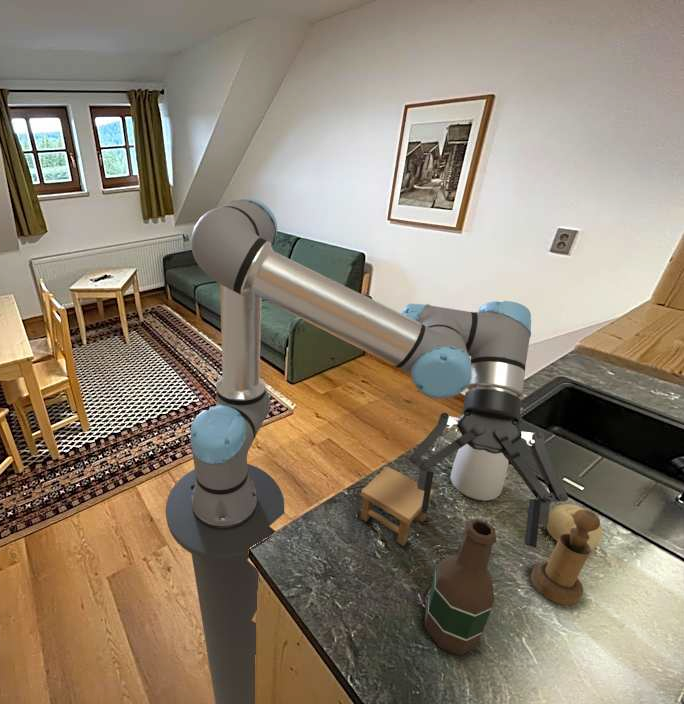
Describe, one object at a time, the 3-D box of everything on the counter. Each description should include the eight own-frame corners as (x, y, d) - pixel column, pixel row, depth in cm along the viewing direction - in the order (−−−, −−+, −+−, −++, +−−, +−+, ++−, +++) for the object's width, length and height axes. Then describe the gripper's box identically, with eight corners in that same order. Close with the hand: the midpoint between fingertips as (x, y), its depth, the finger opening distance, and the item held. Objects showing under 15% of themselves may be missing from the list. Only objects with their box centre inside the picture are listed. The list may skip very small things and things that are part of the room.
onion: (609, 560, 72) (603, 539, 69) (553, 554, 77) (544, 534, 74) (600, 519, 77) (593, 498, 74) (547, 515, 82) (538, 496, 79)
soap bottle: (491, 510, 84) (520, 423, 74) (442, 486, 91) (462, 403, 80) (506, 485, 89) (535, 400, 79) (458, 464, 96) (479, 383, 86)
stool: (358, 518, 85) (361, 490, 81) (382, 492, 90) (386, 465, 87) (404, 548, 78) (409, 519, 74) (427, 518, 83) (434, 490, 80)
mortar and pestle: (572, 577, 70) (610, 504, 62) (584, 612, 65) (627, 537, 57) (526, 564, 73) (556, 492, 65) (534, 597, 68) (568, 523, 60)
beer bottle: (413, 628, 65) (439, 527, 54) (435, 596, 69) (463, 496, 59) (465, 669, 60) (505, 565, 49) (485, 631, 64) (526, 528, 53)
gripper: (584, 416, 62) (571, 559, 57) (408, 385, 74) (386, 501, 69) (605, 406, 56) (593, 565, 51) (408, 373, 67) (384, 500, 63)
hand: (474, 529), depth 60 cm, fingers open, 13 cm apart
